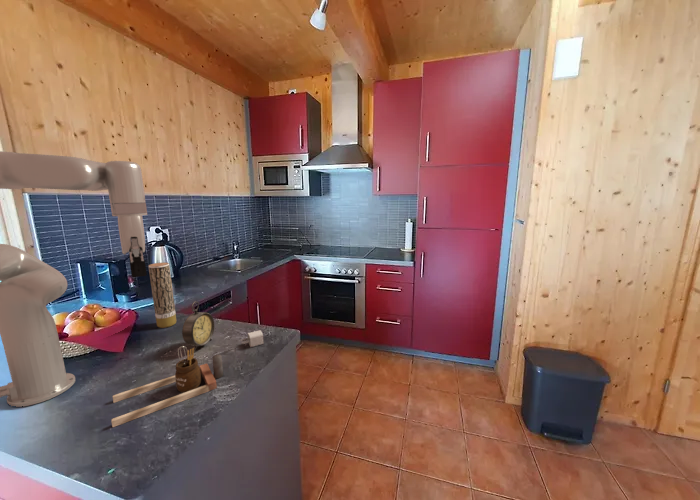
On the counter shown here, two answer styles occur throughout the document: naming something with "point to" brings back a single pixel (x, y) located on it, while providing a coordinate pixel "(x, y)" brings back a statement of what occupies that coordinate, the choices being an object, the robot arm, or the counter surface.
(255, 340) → the usb wall charger
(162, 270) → the paper tube
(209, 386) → the guide channel
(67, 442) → the counter surface
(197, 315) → the alarm clock
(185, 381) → the utensil holder
